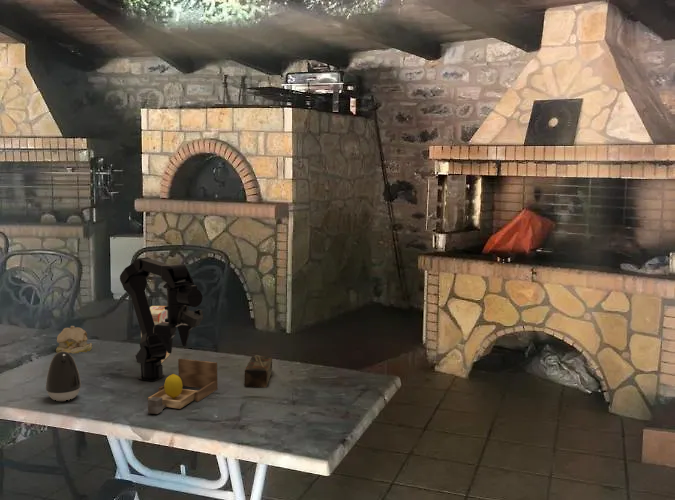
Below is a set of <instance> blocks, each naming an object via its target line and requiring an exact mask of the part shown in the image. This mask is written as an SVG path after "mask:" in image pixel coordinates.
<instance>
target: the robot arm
mask: <svg viewBox="0 0 675 500" xmlns="http://www.w3.org/2000/svg"><path fill="white" fill-rule="evenodd" d="M150 274H153V275H156V276H159V277H160V279H161V280H162V281H164V282H165V284H163V286H162V287H163V289H166V305H164V306H165V310H167V317H168V318H166V319H165V322H169V323H159V324H157V325H155V324H154V321H153V317H152V314H151V310H150V307H151V306H150V304H149V300H148V297H147V294H146V290H147V286H148V279H147V278H148V277H150ZM119 282H120V283H121V286H122V287H123V290H124V291H125V292H126V293H127V294H128V295H130V298H131V301H132V304H133V310H134V312H135V315H136V318H137V322H138V323H137V324H138V325H139V329H140V334H141V333H142V337H141V336H140V342H139V347H140V348H139V350H138V352H137V353H136V354H135V361H136V363H139V364H140V377H138V381H139V380H140V381H147V382H148V381H149V382H156V381H158V380H160V379H162V378H164V377H165V374H164V373H163V372H164V371H163V364H162V363H161V360H164V359H165V357H166V353H167V352H168V353H170V354H172V352H173V351H172V350H173V340H174V339H173V338H174V337H175V336H176V335H177V333H176V331H177V329H178V334H179V338H180V341H181V342H180V343H181V345H182V347H187V344H188V341H189V339H190V338H189V337H190V334H191V332H192V331H191V330H192V329H195V328H196V327H199V326H200V325H201V322H202V321H203V320H204V311H203V310H202V309H198V307H199V306H200V304H202V302H203V294H202V291H201V290H199V289H198V286H197V285H195V282H194V279H193V277H192V276H191V274H190V272H189V269H188V268H187V266H186V264H184V263H165V262H163V261H158V260H155V259H152V258H151V257H148V256H147V257H138V258H136V259H135V260H134V261H132V263H131V264H129V265H128V266H126V267H125V268H124V269H123V271H122V272H121V273H120V275H119ZM189 307H190V308H197V309H196V310H195V311H194V310H190V309H189ZM165 360H166V359H165ZM165 360H164V361H165Z"/></svg>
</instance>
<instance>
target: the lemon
mask: <svg viewBox="0 0 675 500" xmlns="http://www.w3.org/2000/svg"><path fill="white" fill-rule="evenodd" d="M163 385H164V389H165V393H166V394H167V395H168V396H169V397H172V398H173V399H175V398H176V397H177V396H179V395H180V393H181V392H182V389H184V388H183V387H184V386H183V384H182V380H181V378H180V377H179V375H178V374H175V373H172V374H170V375H168V376H167V377H166V378H165V381H164V384H163Z"/></svg>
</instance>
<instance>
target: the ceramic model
mask: <svg viewBox="0 0 675 500" xmlns="http://www.w3.org/2000/svg"><path fill="white" fill-rule="evenodd" d="M56 338H57V339H56V343H58V346H57V347H56V349H55V352H56V354H57V353H58V352H61V351H65V352H68V353H72V354H80V353H79V352H85V353H88V352H87V351H89V352H90V351H92V350H91V349H93V343H92V342H90V343H88V340H89V339H88V333H87V331H86V330H84V329H83V328H82V327H78V326H77V327H75V325H70V327H64V328H63V329H62V330H61V332H59V333H58V335H57V336H56Z"/></svg>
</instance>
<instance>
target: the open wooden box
mask: <svg viewBox="0 0 675 500" xmlns="http://www.w3.org/2000/svg"><path fill="white" fill-rule="evenodd" d="M177 360H178V361H177V362H178V363H177V364H178V367H177V368H178V369H177V370H178V376H179V377H180V378H181V380H182V384H183V387H188V388H189V387H190V388H198V390H196V391H197V392H195V396H196V399H195V403H198V402H200V401H202V400H204V398H206V397H208V396H209V395H211V394H212V393H214V392H215V391H217V390H218V388H219V386H218V383H219V382H218V362H215V361H206V360H197V359H188V358H187V359H186V358H178V359H177ZM157 389H158V391H157V392H159V391H161V390H162V389H164V384H163V385H161V386H159V387H158V388H157Z"/></svg>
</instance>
